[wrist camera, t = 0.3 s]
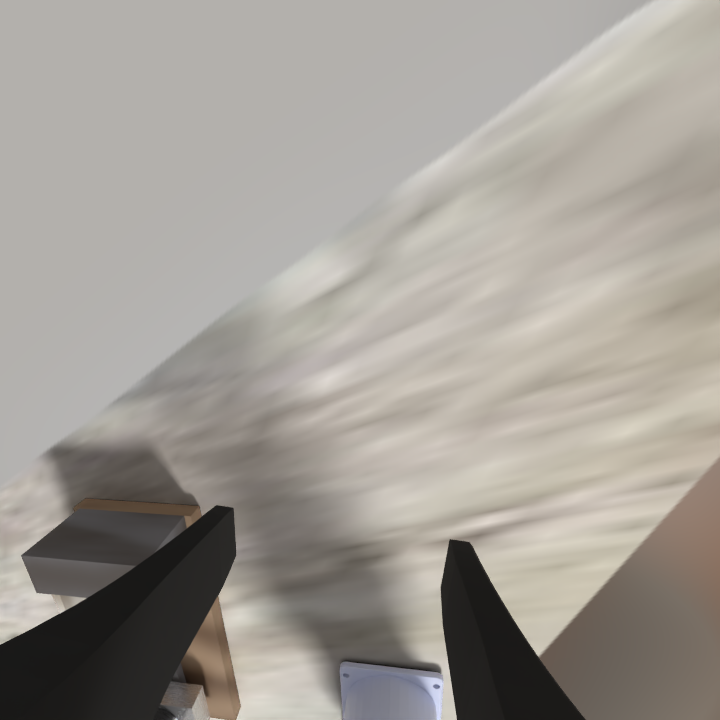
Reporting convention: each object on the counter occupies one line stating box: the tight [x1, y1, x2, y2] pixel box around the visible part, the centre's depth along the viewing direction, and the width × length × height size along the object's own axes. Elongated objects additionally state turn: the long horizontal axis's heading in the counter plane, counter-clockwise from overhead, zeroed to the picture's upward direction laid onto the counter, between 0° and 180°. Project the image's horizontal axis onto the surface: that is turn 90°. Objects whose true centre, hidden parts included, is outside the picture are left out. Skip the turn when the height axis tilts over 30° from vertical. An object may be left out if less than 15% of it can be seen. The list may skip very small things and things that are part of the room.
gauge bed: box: [21, 499, 241, 720], centre depth 26 cm, size 22×9×5 cm, turn 2°
